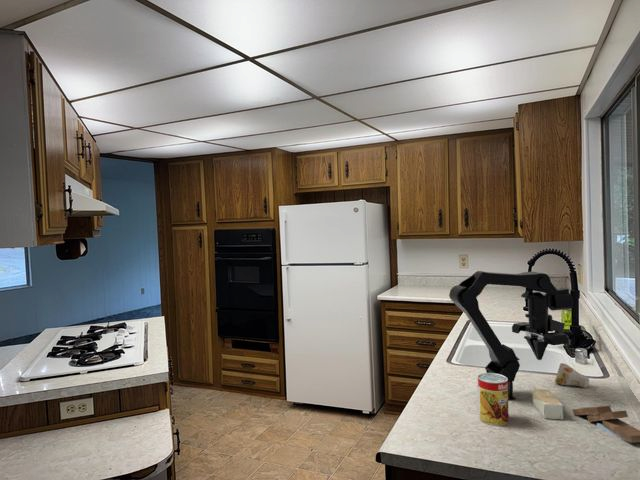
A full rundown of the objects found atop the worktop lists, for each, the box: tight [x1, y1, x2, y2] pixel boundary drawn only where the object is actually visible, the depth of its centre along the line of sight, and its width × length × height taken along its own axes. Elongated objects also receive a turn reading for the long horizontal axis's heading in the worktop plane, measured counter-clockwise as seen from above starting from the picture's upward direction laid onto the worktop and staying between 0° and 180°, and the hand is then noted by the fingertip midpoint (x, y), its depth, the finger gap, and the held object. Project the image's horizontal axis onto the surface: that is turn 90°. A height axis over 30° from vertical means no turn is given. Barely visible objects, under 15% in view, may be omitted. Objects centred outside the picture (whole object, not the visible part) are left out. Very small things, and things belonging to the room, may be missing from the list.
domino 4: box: [602, 418, 640, 443], centre depth 110 cm, size 2×4×9 cm
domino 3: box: [596, 421, 631, 444], centre depth 112 cm, size 2×4×9 cm
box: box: [532, 389, 564, 420], centre depth 126 cm, size 5×4×11 cm
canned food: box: [477, 372, 510, 427], centre depth 122 cm, size 8×8×12 cm
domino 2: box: [586, 409, 629, 423], centre depth 116 cm, size 2×4×9 cm
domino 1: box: [572, 405, 613, 416], centre depth 120 cm, size 2×4×9 cm
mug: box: [554, 362, 590, 389], centre depth 146 cm, size 8×10×10 cm
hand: (539, 359), depth 139 cm, fingers closed
